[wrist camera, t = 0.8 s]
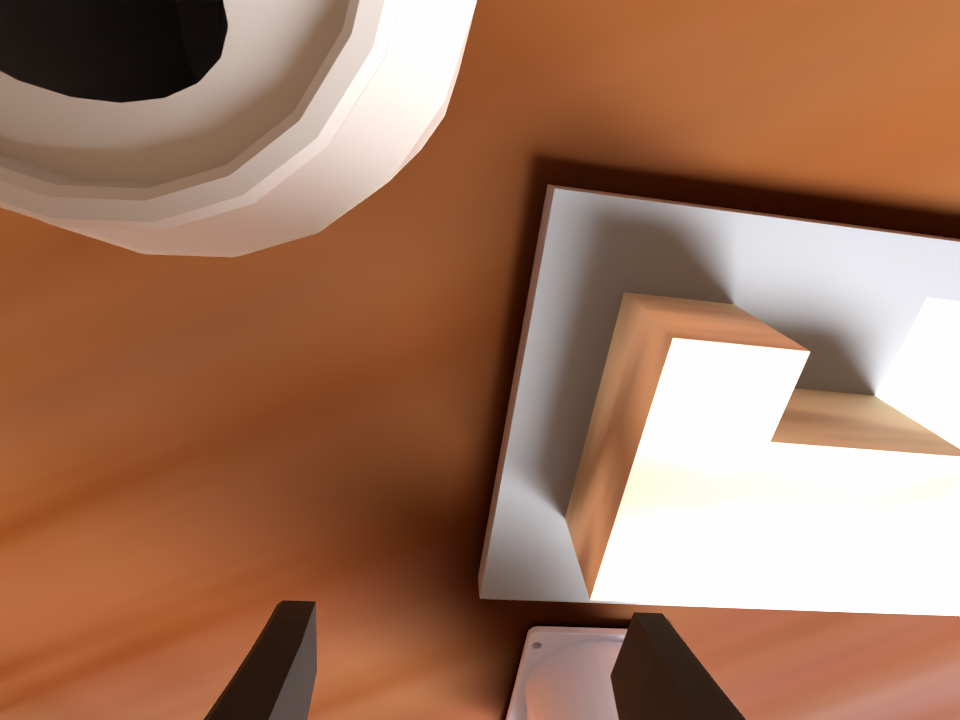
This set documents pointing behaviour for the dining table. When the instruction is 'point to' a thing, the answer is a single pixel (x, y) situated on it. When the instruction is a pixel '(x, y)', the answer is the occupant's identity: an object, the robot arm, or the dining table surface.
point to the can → (216, 113)
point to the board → (829, 367)
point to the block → (734, 455)
